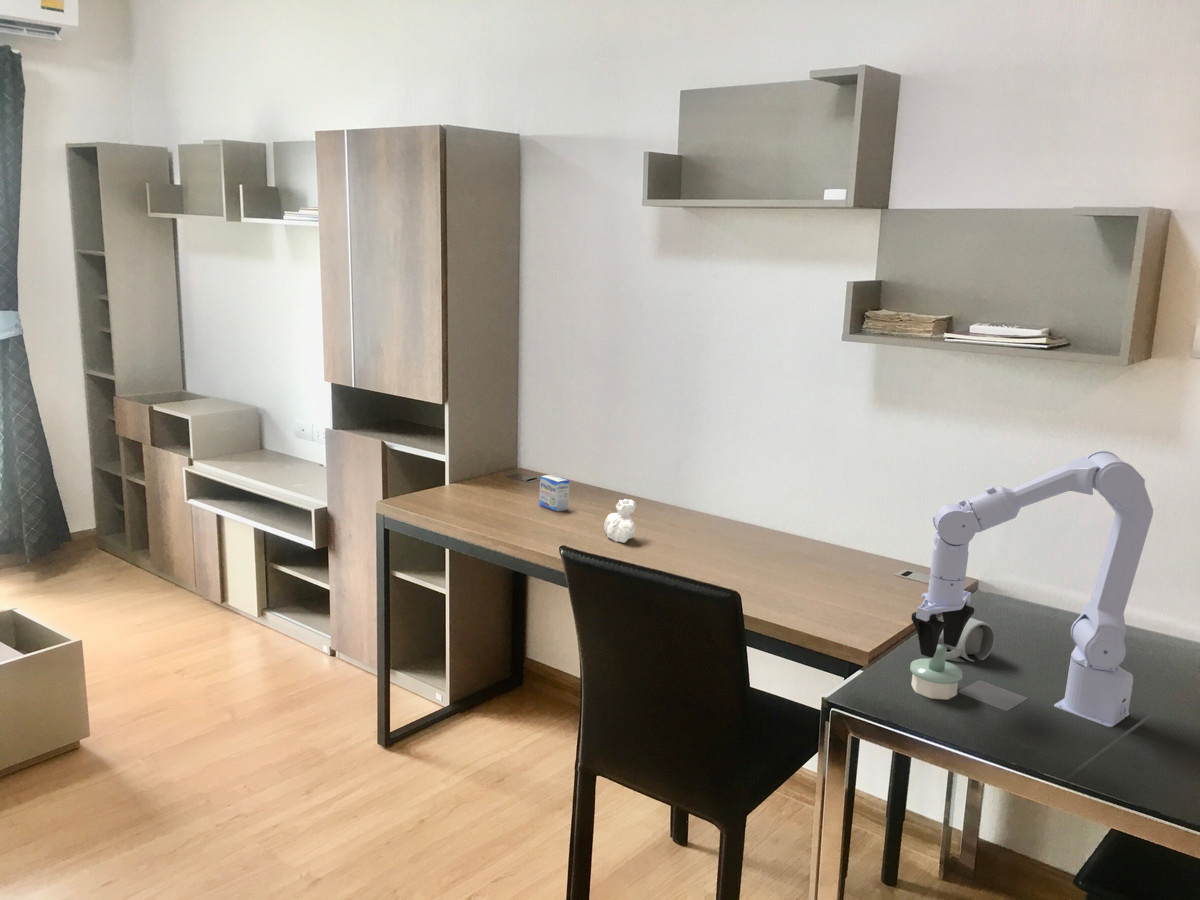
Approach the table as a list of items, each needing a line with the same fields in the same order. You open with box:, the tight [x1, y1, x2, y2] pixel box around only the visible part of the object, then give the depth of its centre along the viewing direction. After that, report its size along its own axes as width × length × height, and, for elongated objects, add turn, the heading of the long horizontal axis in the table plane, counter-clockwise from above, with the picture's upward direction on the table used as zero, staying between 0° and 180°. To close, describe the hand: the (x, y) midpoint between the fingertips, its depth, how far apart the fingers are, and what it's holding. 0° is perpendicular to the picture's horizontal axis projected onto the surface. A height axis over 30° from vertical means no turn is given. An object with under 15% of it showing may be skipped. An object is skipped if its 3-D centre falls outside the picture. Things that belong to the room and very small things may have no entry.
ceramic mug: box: [938, 616, 996, 662], centre depth 190 cm, size 11×8×8 cm
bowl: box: [910, 673, 959, 700], centre depth 174 cm, size 7×7×4 cm
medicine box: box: [538, 474, 570, 512], centre depth 280 cm, size 8×4×9 cm, turn 43°
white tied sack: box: [603, 498, 637, 544], centre depth 254 cm, size 12×8×11 cm
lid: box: [909, 644, 963, 684], centre depth 173 cm, size 9×9×5 cm
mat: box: [957, 679, 1029, 712], centre depth 173 cm, size 9×8×1 cm
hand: (938, 650), depth 173 cm, fingers open, 7 cm apart
